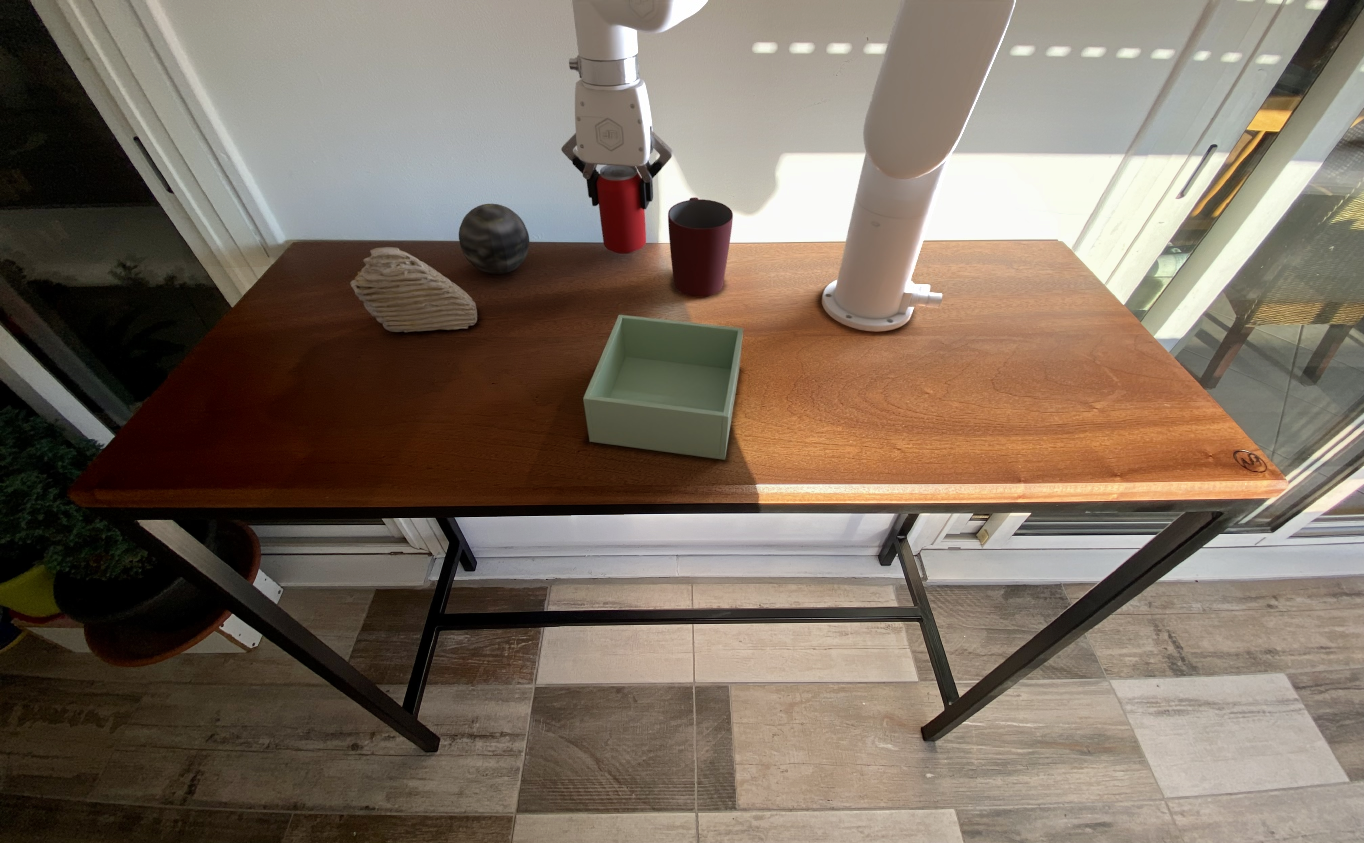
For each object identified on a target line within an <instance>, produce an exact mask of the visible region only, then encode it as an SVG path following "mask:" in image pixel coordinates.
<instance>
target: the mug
mask: <svg viewBox="0 0 1364 843" xmlns="http://www.w3.org/2000/svg"><path fill="white" fill-rule="evenodd" d="M667 212H668V213H667V225H668V239H669V249H670V260H671V270H672V280H673V287H674V288H675V289H676V290H677V292H679V293H681V294H682V295H686V296H688V297H693V298H704V297H711V296H713V295H715V294H718V293H719V292H720V291H721V290H722V289H723V287H724V281H725V275H726V268H727V263H728V256H729V249H730V243H731V237H732V230H733V229H732V228H733V220H734V219H733V218H734V213H733V211H732V209H731V208H730V207H729V206H727V205H726V204H724V203H722V202H719V201H717V200H711V199H699V198H698V197H690V198H689V199H688V200H687V199H686V200H683V201H680V202H677V203H675V204H673V205H672V206H671V207H670V208H669V210H668V211H667Z"/></svg>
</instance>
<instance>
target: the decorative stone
mask: <svg viewBox="0 0 1364 843" xmlns="http://www.w3.org/2000/svg"><path fill="white" fill-rule="evenodd" d="M458 242H459V246H460V249H461V252H462V254H463V255H464V258H466V260H467V261H468V262H469V263H470V264H471V265H472V266H474V268H476V269H477V270H479V271H481V272H484V273H487V274H490V275H503V274H504V275H505V274H507V273H510V272H512V271H515V270H516V269H517V268H519V267H520V266H521V265H522V263H523V262H524V261H525V260H526V258H527V255H528V252H529V248H530V235H529V232H528V229H527V227H526V225H525V222H524V221H523V219H522V218H521V217H520V216H519V215H518V214H517V213H516V212H514V211H513V210H512V209H511V208H509V207H507V206H504V205H502V204H499V203H483V204H480V205H477V206H475V207H473V208H472V209H471V210H470V211H468V212H467V213H466V214H465V216H464V217H463V219H462V221H461V223H460V226H459V229H458Z"/></svg>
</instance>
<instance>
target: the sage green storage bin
mask: <svg viewBox="0 0 1364 843" xmlns="http://www.w3.org/2000/svg"><path fill="white" fill-rule="evenodd" d="M743 335H744V328H743V327H736V326H726V325H719V324H718V325H717V324H708V323H700V322H690V321H689V322H688V321H681V320H672V319H671V320H670V319H663V318H653V317H643V316H634V315H627V314H618V316H617V318H616V320H615V323H614V325H613V327H612V330H611V332H610V334H609V337H608V340H607V342H606V344H605V346H604V349H603V351H602V354H601V355H600V358H599V359H598V362H597V364H596V367H595V370H594V372H593V375H592V377H591V379H590V381H589V384H588V386H587V388H586V391H585V393H584V396H583V398H582V401H583V407H584V413H585V414H584V415H585V420H586V427H587V433H588V440H589V443H591V442H592V443H596V444H597V443H598V444H605V445H612V446H620V447H627V448H635V449H640V450H641V449H642V450H648V451H649V450H650V451H656V452H664V453H672V454H679V455H685V456H695V457H700V458H701V457H702V458H707V459H708V458H709V459H717V460H723V461H724V460H726V455H727V449H728V443H729V436H730V431H731V425H732V419H733V413H734V406H735V400H736V394H737V387H738V382H739V376H740V368H741V357H742V349H743V338H744V336H743Z"/></svg>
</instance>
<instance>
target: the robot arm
mask: <svg viewBox="0 0 1364 843" xmlns="http://www.w3.org/2000/svg"><path fill="white" fill-rule="evenodd" d="M708 1H709V0H571V2H572V3H571V4H572V12H573V19H574V28H575V35H576V36H575V37H576V44H577V53H578V55H577V56H575V57H574V58H572V57H570V58H569V60H568V66H569V70H570V71H575V72H578V75H579V80H577V81H576V82H575V87H574V125H575V132H574V133H573V135H572V136H571V137H569V139H567V141H566V142H565V143H564V144H563V145H562V147H561V149H560V150H561V153H563V154H564V155H565V157H566V158H567V159H568V160H569V161H571V164H572V165H573V166H574V167H575V168H576V169H577V171H579V172H580V173H581V174H582V177H583V178H584V180H586V188H587V196H588V198H590V199H591V206H592V207H597V206H599V202H598V193H597V180H598V177H599V175H600V170H597V168H598V166H599V165H600V166H606V165H614V166H635V167H636V168H637V172H638V173H639V175H640V176H641V178H642V180H641V182H640V199H641V208H642V209H644V210H647V208H648V206H649V205H650V203H651V202H653V200H654V183H653V179H654V178H655V177H656V176H657V175H658V174H659V173H660V172H661V170H662V169H663V168H664V166H666V165H667V163H668V162H669V161H670V160H671V158H672V157H673V155H674V150H673V149H672V148H671V147H670V146H669V145H668V144H667V143H666V142H665V141H664V140H663V139H662V138H660V136H658V135H657V133H655V132H654V130H653V120H652V113H651V107H650V100H649V95H648V91H647V87H646V83H645V80H644V79H643V78H642V77H641V78H640V65H639V64H640V63H639V62H640V61H639V47H638V46H639V45H638V32H641V33H645V34H660V33H663V32H666V31H668V30H670V29H671V28H673V27H676V26H677V25H679V24H680V23H681V22H682V21H684V20H686V19H688V18H690V17H692V16H694V15H695V14H697V12H699V11H700V10H701V9H702V8H703V7H704V6H705V5H706V4H707V2H708ZM1016 2H1017V0H900V2H899V4H898V5H899V6H898V9H897V11H896V15H895V19H894V21H893V25H892V28H891V31H890V35H889V38H888V41H887V44H886V48H885V51H884V55H883V58H882V62H881V65H880V69H879V72H878V75H877V78H876V81H875V85H874V89H873V92H872V94H871V98H870V102H869V105H868V109H867V111H866V114H865V118H864V121H863V122H864V124H863V129H862V130H863V132H862V136H863V145H864V150H865V155H864V157H863V162H862V168H861V171H860V175H859V180H858V184H857V188H856V193H855V197H854V202H853V206H852V210H851V216H850V220H849V225H848V229H847V233H846V234H847V235H846V239H845V243H844V248H843V251H842V256H841V261H840V266H839V270H838V274H837V278H836V280H833V281H831V282H829V284H827V285H826V287H825V288H824V289H823V291H822V296H821V304H822V307H823V309H824V311H825V312H826V313H827V314H828V316H830V317H831V318H832V319H834V320H835V321H837V322H838V323H840V324H841V325H844V326H846V327H849V328H851V329H852V328H853V329H855V330H860V331H866V332H887V331H893V330H896V329H899V328H901V327H902V326H904V325H905V324H907V323H908V322H909V321H910V319H911V318H912V315H913V310H914V308H916V307H917V306H923V307H926V308H927V307H928V308H936V309H937V308H939V309H940V308H941V305H942V302H943V294H942V293H939V292H938V293H937V292H930V291H931V285H930V284H922V283H920V284H918V283H916V284H915V283H914V282H913V281H912V276H913V273H914V271H915V267H916V264H917V261H918V258H919V254H920V251H921V248H922V245H923V242H924V239H925V236H926V233H927V230H928V226H929V224H930V221H931V217H932V214H933V211H934V208H935V206H936V202H937V199H938V196H939V193H940V189H941V187H942V183H943V180H944V178H945V174H946V171H947V168H948V164H949V162H950V158H951V155H952V153H953V152H954V150H955V149H956V147H957V145H958V143H959V141H960V139H961V137H962V134H963V132H964V130H965V128H966V125H967V123H968V121H969V119H970V116H971V115H972V112H973V110H974V107H975V105H976V102H977V100H978V98H979V96H980V93H981V91H982V89H983V86H984V84H985V81H986V79H987V76H988V74H989V72H990V70H991V67H992V65H993V63H994V60H995V58H996V55H997V53H998V51H999V48H1000V46H1001V44H1002V41H1003V39H1004V36H1005V34H1006V31H1007V29H1008V27H1009V24H1010V21H1011V18H1012V15H1013V12H1014V9H1015V6H1016ZM654 151H656V152H657V153H658V155H659V156H658V157H657V159H655V161H654V162H653V163H652V162H651V160H650V156H651V154H652V153H653V152H654Z"/></svg>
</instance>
